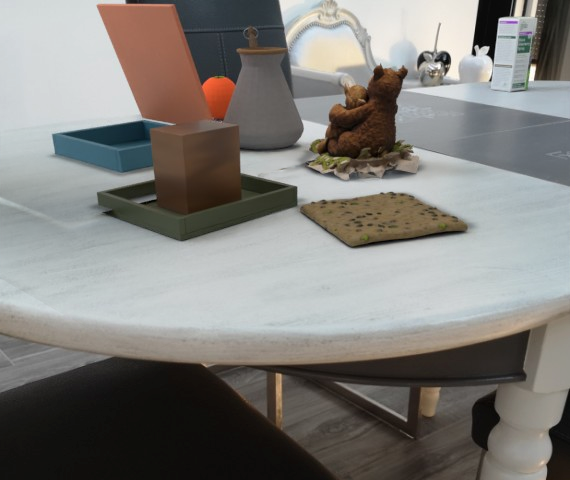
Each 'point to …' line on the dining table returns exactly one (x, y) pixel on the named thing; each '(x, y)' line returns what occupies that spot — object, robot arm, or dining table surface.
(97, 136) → the tray
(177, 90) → the lunchbox lid
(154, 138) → the block
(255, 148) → the grey lidded jar
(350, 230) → the cookie
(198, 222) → the tray
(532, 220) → the dining table surface
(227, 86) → the clementine
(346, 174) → the bear figurine
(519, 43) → the syrup box
